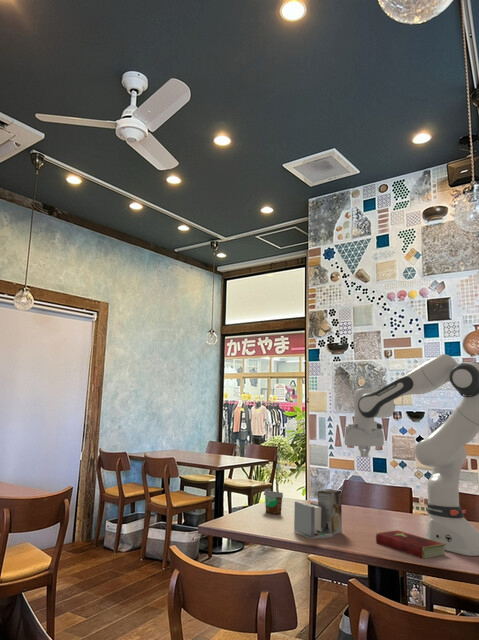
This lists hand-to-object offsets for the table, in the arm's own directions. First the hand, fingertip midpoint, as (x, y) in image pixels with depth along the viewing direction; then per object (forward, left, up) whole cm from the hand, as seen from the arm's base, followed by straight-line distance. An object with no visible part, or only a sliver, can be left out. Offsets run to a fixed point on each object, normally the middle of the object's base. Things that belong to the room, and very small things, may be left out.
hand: (364, 456), depth 199 cm
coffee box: (-2, +21, -29) cm, 36 cm away
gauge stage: (-2, +29, -28) cm, 40 cm away
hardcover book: (-30, +7, -30) cm, 43 cm away
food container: (+38, +24, -29) cm, 54 cm away
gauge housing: (-2, +29, -29) cm, 41 cm away
